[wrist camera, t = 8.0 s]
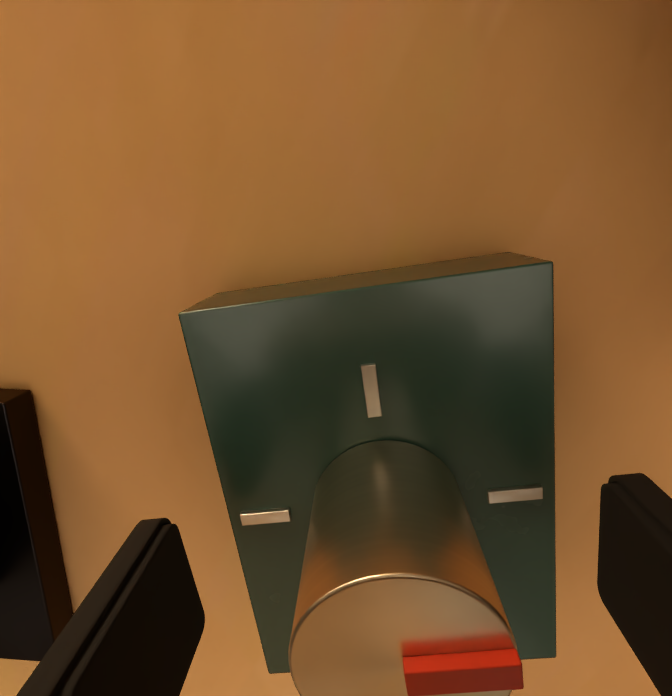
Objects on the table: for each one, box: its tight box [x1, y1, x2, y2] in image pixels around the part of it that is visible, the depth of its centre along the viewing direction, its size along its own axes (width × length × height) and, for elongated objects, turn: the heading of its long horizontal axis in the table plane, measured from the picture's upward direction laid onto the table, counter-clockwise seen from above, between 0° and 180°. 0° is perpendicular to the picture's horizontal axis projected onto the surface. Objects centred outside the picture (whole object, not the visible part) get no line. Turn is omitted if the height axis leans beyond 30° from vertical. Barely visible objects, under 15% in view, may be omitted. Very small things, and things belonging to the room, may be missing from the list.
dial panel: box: [179, 252, 556, 674], centre depth 13 cm, size 12×9×3 cm
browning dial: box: [289, 440, 524, 696], centre depth 10 cm, size 4×4×5 cm
